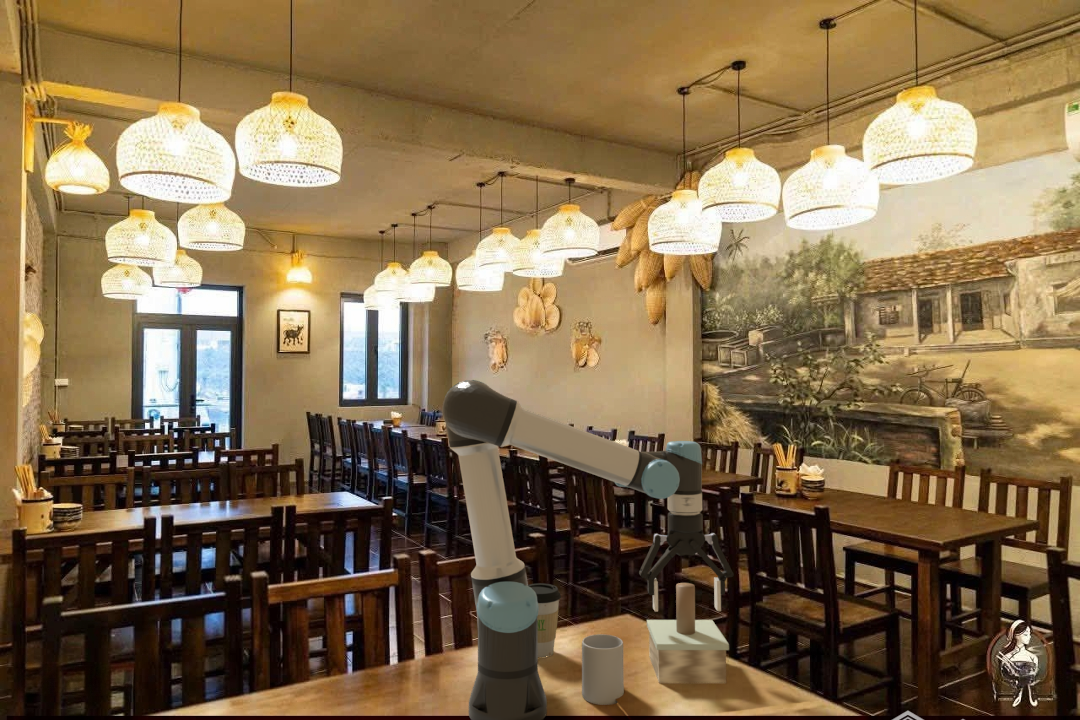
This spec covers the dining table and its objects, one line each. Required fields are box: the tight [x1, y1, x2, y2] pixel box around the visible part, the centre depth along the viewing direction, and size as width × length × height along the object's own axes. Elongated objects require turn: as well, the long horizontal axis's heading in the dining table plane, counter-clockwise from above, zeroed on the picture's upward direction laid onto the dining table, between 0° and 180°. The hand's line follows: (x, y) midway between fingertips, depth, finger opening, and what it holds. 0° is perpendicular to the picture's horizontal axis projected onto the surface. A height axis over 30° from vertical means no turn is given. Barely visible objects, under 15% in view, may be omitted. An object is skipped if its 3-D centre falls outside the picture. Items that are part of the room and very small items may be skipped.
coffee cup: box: [528, 582, 562, 658], centre depth 168 cm, size 10×10×15 cm
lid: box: [646, 582, 730, 651], centre depth 156 cm, size 15×15×12 cm
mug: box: [581, 633, 625, 706], centre depth 147 cm, size 12×8×11 cm
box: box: [648, 631, 727, 684], centre depth 156 cm, size 14×14×8 cm
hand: (686, 609), depth 156 cm, fingers open, 13 cm apart
